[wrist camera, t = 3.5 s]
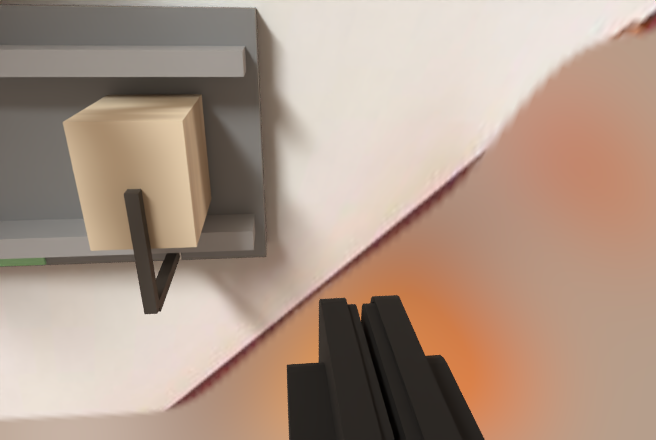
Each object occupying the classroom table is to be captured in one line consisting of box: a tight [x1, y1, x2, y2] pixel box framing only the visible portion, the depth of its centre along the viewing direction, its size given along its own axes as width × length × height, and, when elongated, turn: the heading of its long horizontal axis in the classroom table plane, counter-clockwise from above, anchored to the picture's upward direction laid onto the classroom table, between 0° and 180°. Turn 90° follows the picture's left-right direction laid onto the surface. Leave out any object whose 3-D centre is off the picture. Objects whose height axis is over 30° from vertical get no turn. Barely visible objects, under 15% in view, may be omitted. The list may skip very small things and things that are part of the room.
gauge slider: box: [63, 94, 211, 314], centre depth 20 cm, size 4×8×6 cm, turn 179°
